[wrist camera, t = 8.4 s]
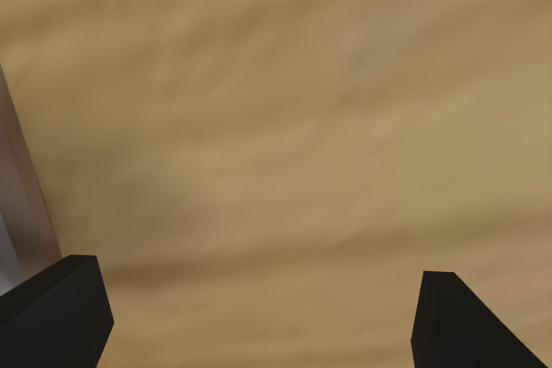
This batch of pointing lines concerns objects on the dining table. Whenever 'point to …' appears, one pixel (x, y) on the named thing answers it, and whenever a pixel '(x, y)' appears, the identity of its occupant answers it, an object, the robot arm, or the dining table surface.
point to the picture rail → (20, 206)
